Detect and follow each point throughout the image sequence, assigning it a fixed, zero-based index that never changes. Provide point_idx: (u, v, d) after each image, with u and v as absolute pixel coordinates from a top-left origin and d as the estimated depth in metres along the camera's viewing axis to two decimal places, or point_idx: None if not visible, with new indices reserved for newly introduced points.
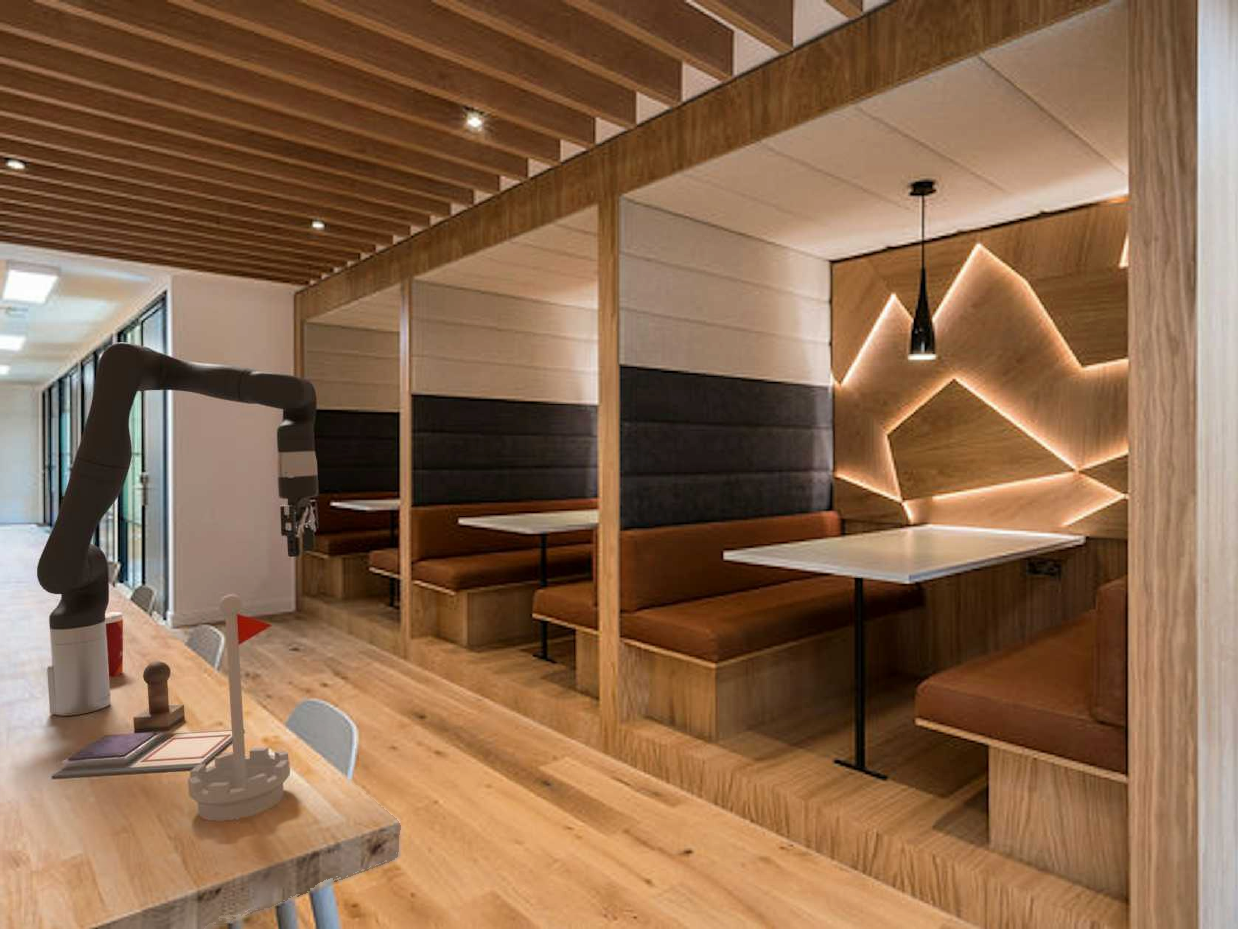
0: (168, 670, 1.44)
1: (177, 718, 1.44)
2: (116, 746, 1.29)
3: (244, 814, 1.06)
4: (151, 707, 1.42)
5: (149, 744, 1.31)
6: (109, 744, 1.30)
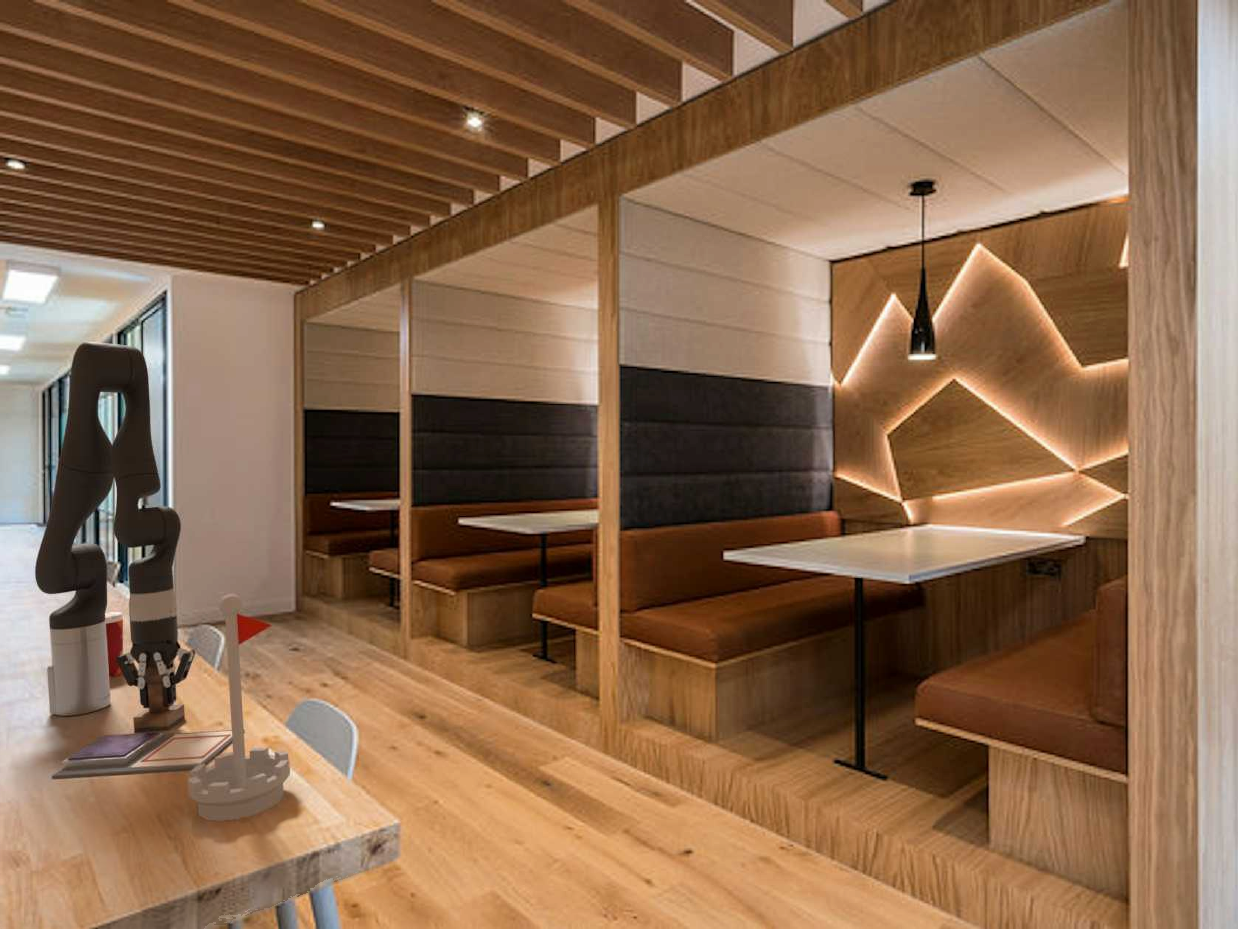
0: None
1: (177, 718, 1.44)
2: (116, 746, 1.29)
3: (244, 814, 1.06)
4: (151, 707, 1.42)
5: (149, 744, 1.31)
6: (109, 744, 1.30)
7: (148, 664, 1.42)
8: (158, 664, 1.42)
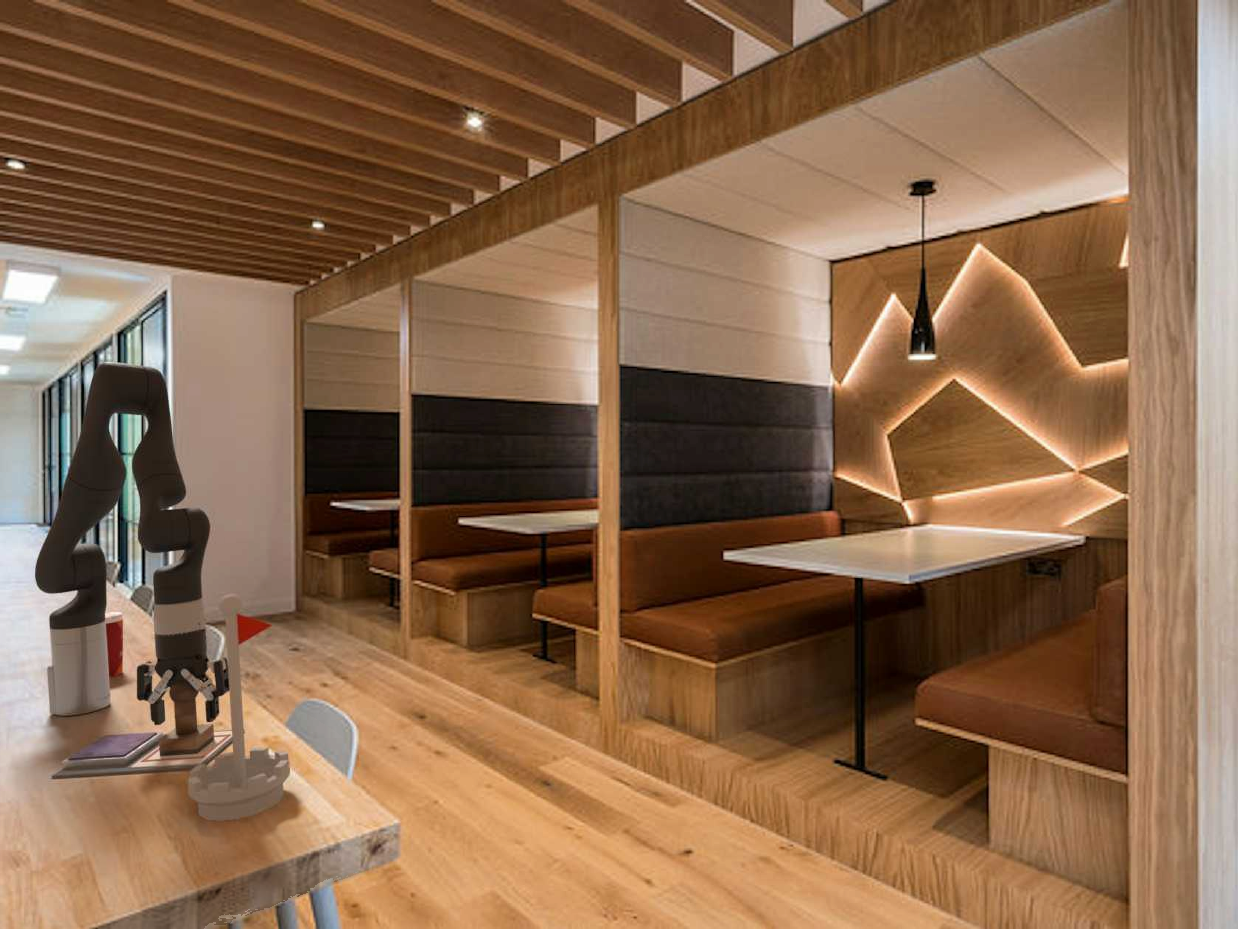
0: None
1: (206, 739, 1.31)
2: (116, 746, 1.29)
3: (244, 814, 1.06)
4: (178, 727, 1.29)
5: (149, 744, 1.31)
6: (109, 744, 1.30)
7: (175, 682, 1.29)
8: (190, 680, 1.28)
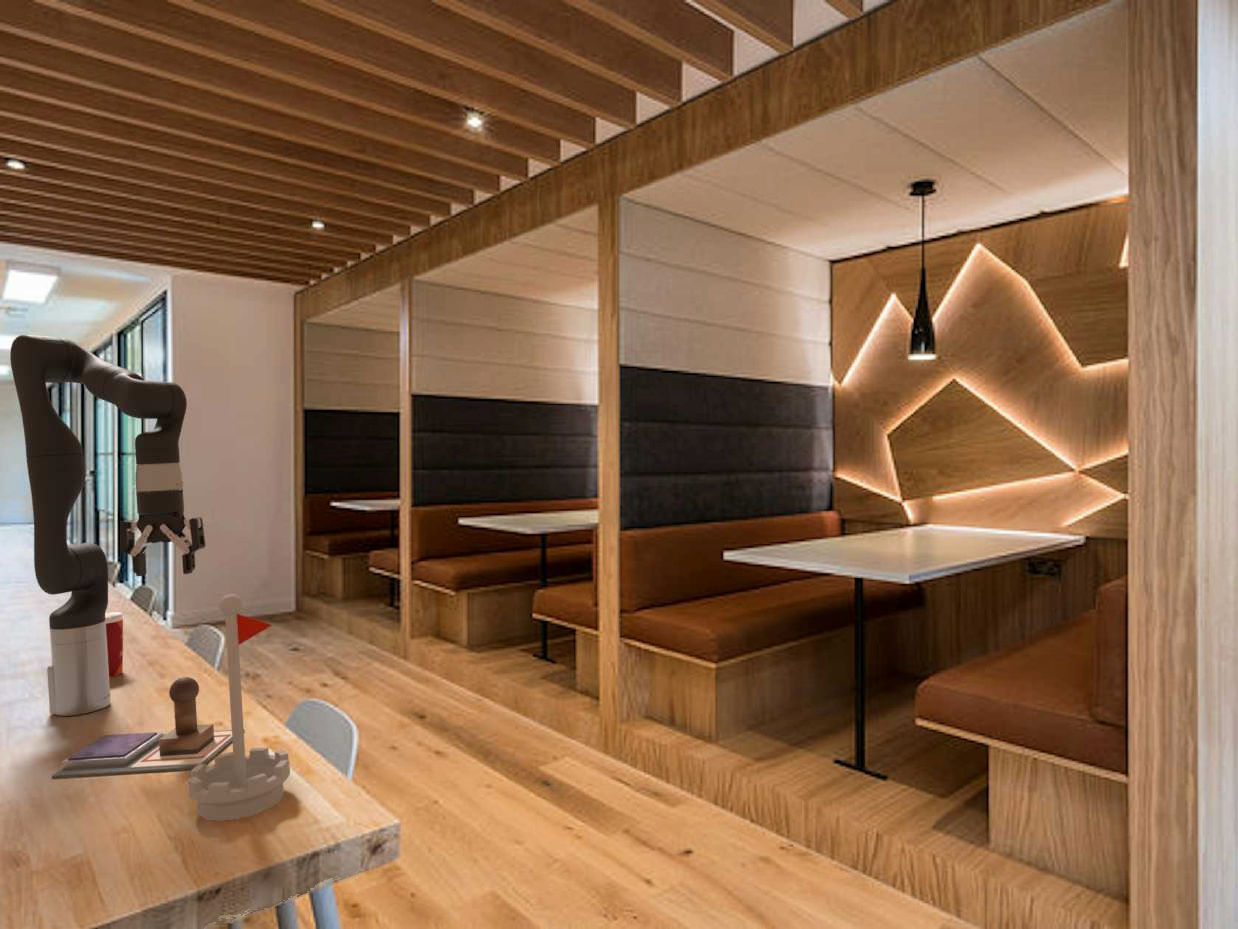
0: (196, 686, 1.30)
1: (206, 739, 1.31)
2: (116, 746, 1.29)
3: (244, 814, 1.06)
4: (178, 727, 1.29)
5: (149, 744, 1.31)
6: (109, 744, 1.30)
7: (154, 537, 1.43)
8: (168, 535, 1.42)
